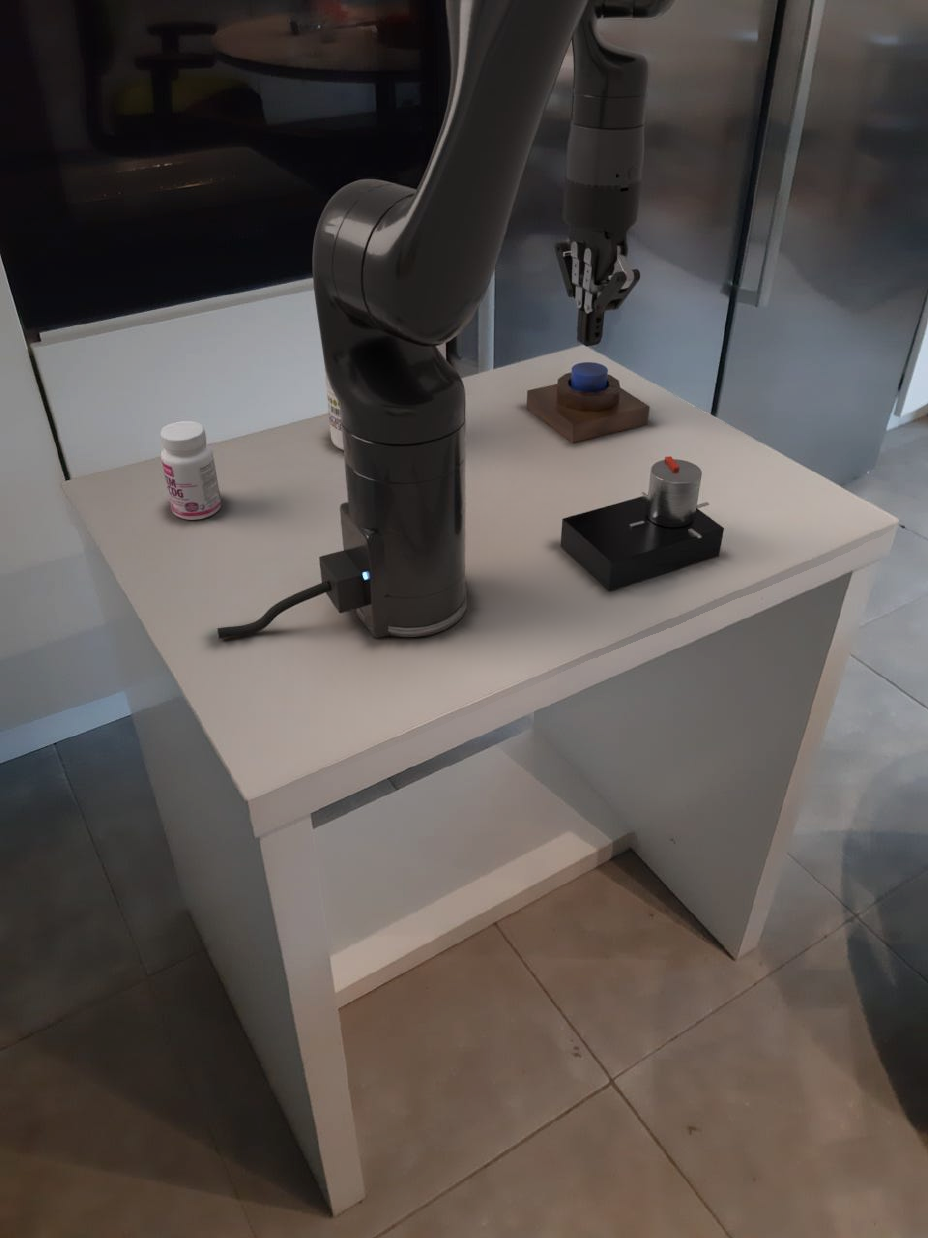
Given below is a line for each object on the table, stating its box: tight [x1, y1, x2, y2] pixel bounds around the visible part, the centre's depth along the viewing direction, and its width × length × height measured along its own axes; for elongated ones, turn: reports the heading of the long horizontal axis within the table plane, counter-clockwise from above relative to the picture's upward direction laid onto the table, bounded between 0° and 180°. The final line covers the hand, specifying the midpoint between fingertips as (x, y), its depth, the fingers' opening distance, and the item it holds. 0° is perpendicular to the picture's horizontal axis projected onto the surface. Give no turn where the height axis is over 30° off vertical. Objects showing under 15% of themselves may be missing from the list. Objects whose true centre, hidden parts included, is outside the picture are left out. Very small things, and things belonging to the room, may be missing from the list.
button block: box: [526, 371, 651, 444], centre depth 111 cm, size 10×10×4 cm
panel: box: [560, 491, 725, 592], centre depth 89 cm, size 13×9×3 cm, turn 117°
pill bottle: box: [159, 420, 222, 521], centre depth 93 cm, size 5×5×8 cm
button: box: [570, 361, 609, 392], centre depth 109 cm, size 4×4×2 cm
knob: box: [646, 455, 703, 527], centre depth 87 cm, size 4×4×5 cm
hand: (588, 343), depth 107 cm, fingers closed
